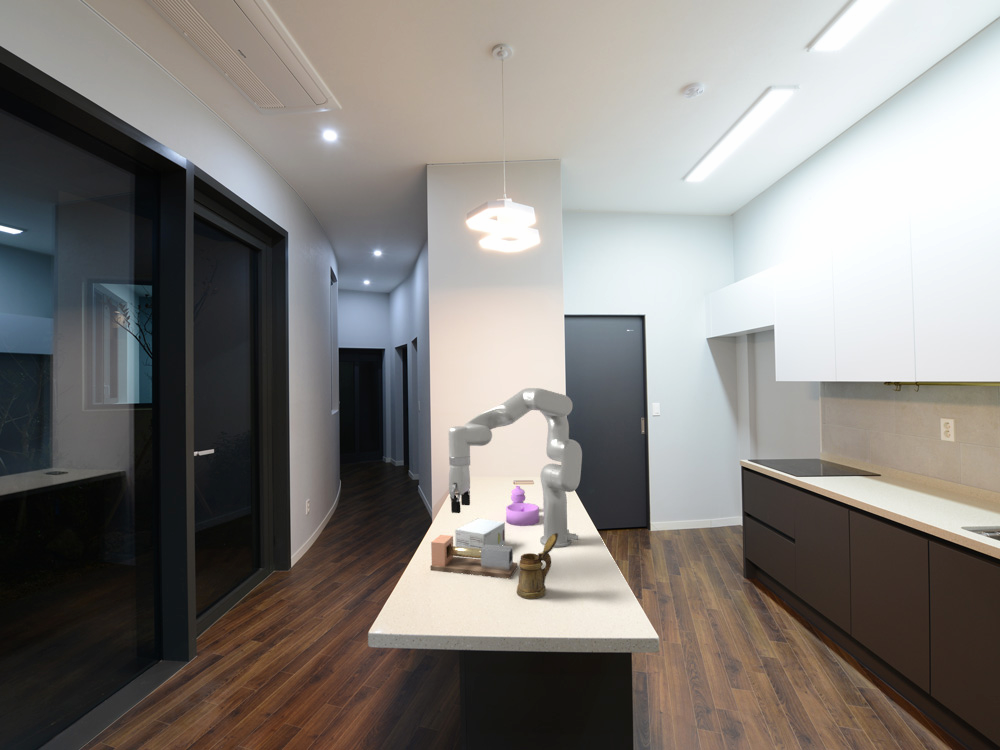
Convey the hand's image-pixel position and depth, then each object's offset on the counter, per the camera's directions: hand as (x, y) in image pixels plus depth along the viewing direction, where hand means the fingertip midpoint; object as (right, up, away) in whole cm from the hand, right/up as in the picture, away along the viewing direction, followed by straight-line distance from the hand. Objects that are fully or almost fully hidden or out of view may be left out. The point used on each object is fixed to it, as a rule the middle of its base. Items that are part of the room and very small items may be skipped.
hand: (461, 508), depth 167 cm
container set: (+24, -21, +56) cm, 65 cm away
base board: (+5, -20, -3) cm, 21 cm away
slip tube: (+3, -17, -2) cm, 17 cm away
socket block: (-7, -19, +1) cm, 20 cm away
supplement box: (+7, -21, +17) cm, 27 cm away
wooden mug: (+26, -20, -21) cm, 39 cm away
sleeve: (+13, -19, -5) cm, 23 cm away
